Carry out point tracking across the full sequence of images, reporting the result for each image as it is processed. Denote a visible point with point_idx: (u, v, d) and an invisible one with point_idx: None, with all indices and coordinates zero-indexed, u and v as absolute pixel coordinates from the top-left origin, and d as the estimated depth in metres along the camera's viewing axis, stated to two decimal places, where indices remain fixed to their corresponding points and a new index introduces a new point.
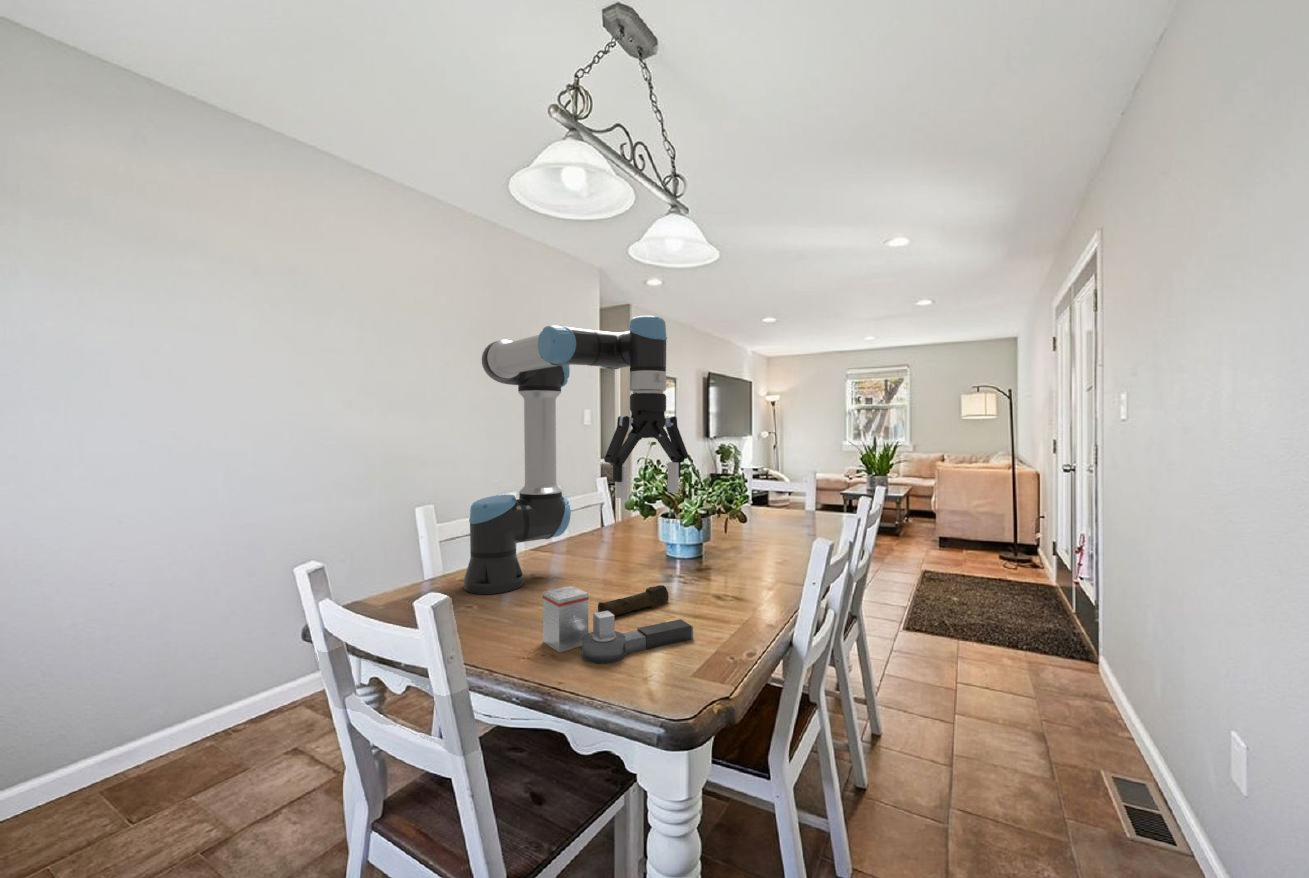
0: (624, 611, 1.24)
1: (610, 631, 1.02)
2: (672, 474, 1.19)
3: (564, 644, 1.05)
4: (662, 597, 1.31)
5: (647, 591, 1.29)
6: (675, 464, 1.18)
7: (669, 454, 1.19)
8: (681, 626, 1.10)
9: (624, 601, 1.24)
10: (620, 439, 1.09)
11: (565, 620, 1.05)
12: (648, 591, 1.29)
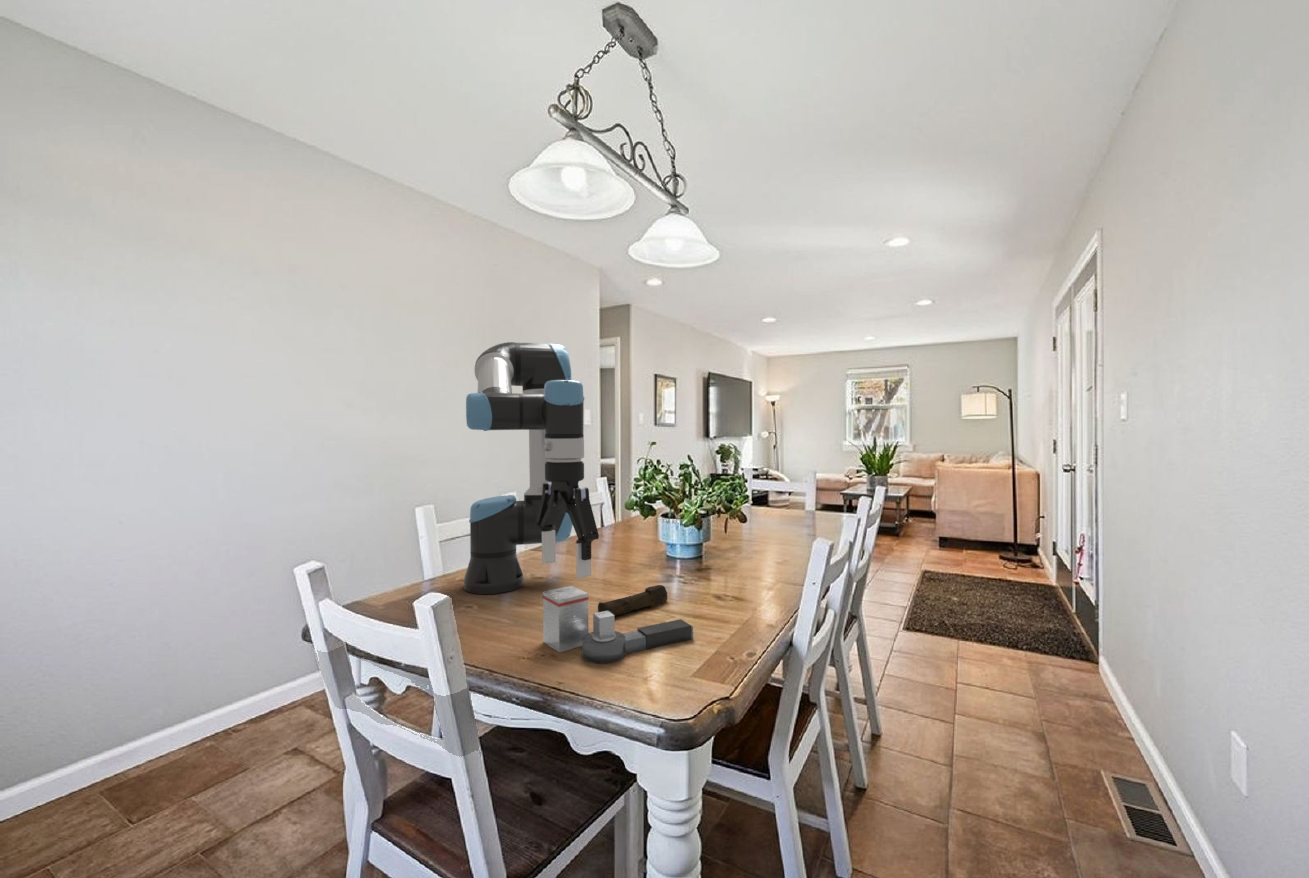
0: (624, 611, 1.24)
1: (610, 631, 1.02)
2: None
3: (564, 644, 1.05)
4: (661, 597, 1.31)
5: (646, 591, 1.30)
6: None
7: None
8: (681, 626, 1.10)
9: (624, 601, 1.24)
10: (540, 505, 1.13)
11: (565, 620, 1.05)
12: (647, 591, 1.29)
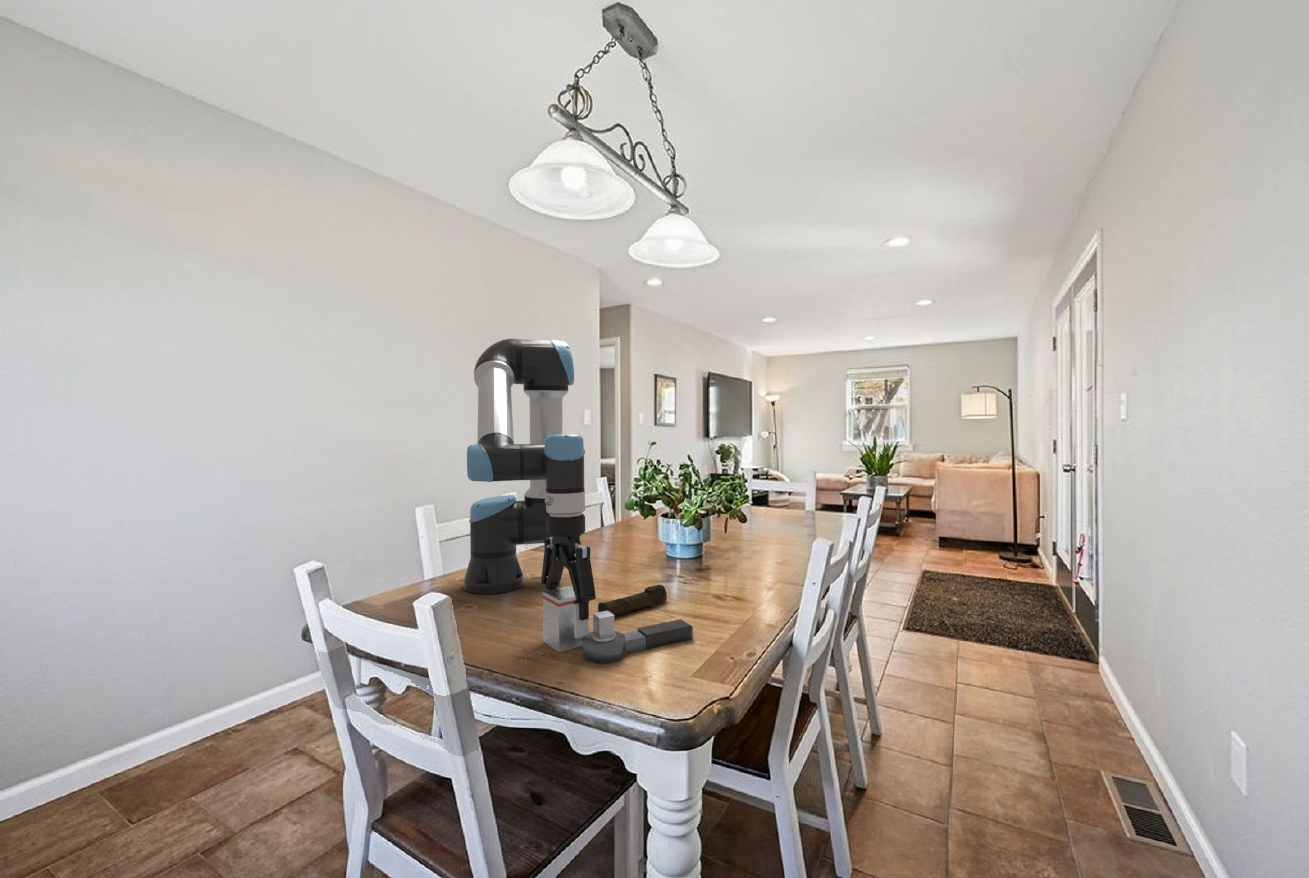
0: (624, 611, 1.24)
1: (610, 631, 1.02)
2: None
3: (564, 644, 1.05)
4: (661, 597, 1.31)
5: (646, 591, 1.30)
6: None
7: None
8: (681, 626, 1.10)
9: (624, 601, 1.24)
10: (543, 561, 1.12)
11: (565, 620, 1.05)
12: (647, 591, 1.29)
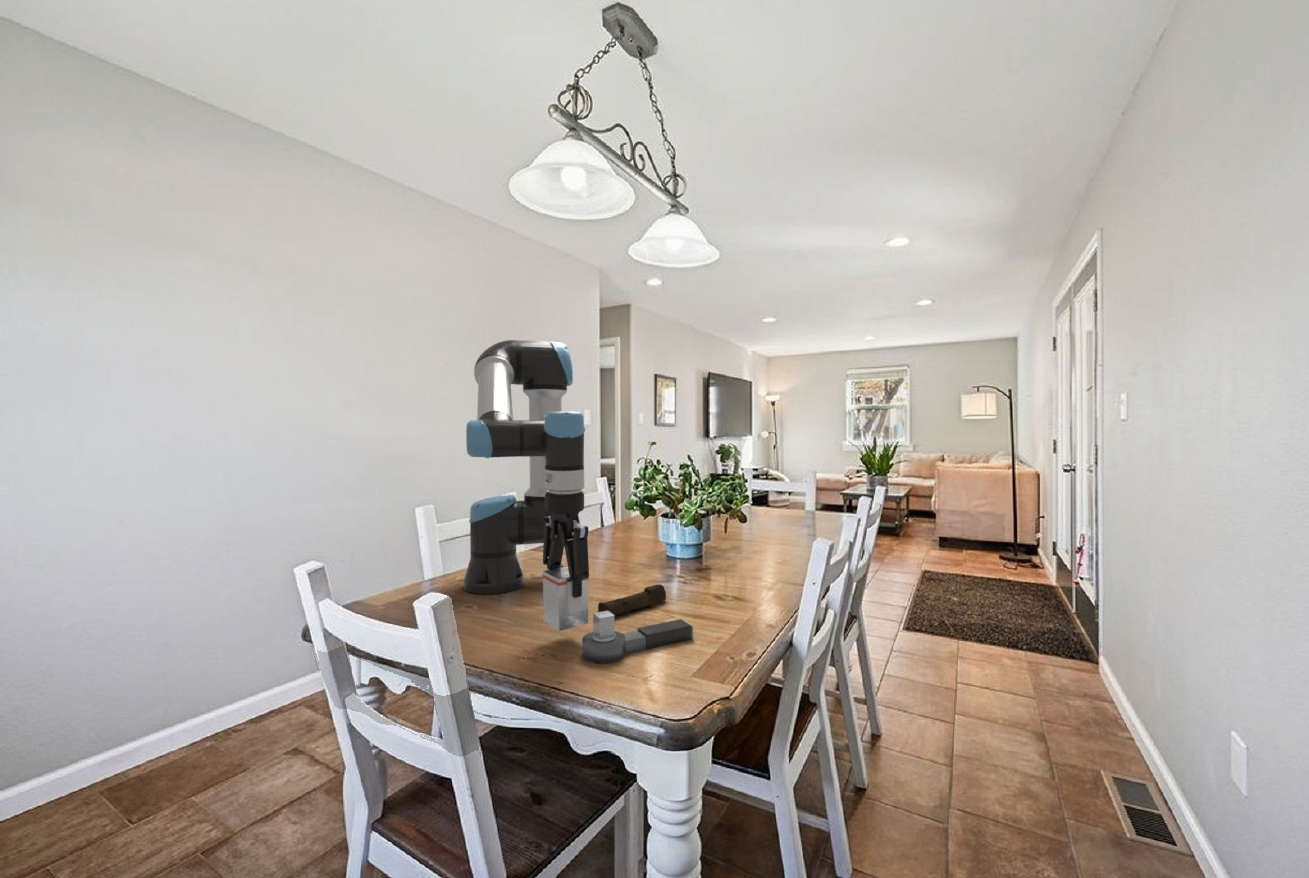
0: (624, 611, 1.24)
1: (610, 631, 1.02)
2: None
3: (564, 623, 1.05)
4: (660, 596, 1.31)
5: (646, 590, 1.30)
6: None
7: None
8: (681, 626, 1.10)
9: (624, 601, 1.24)
10: (544, 540, 1.12)
11: (565, 599, 1.05)
12: (647, 590, 1.30)
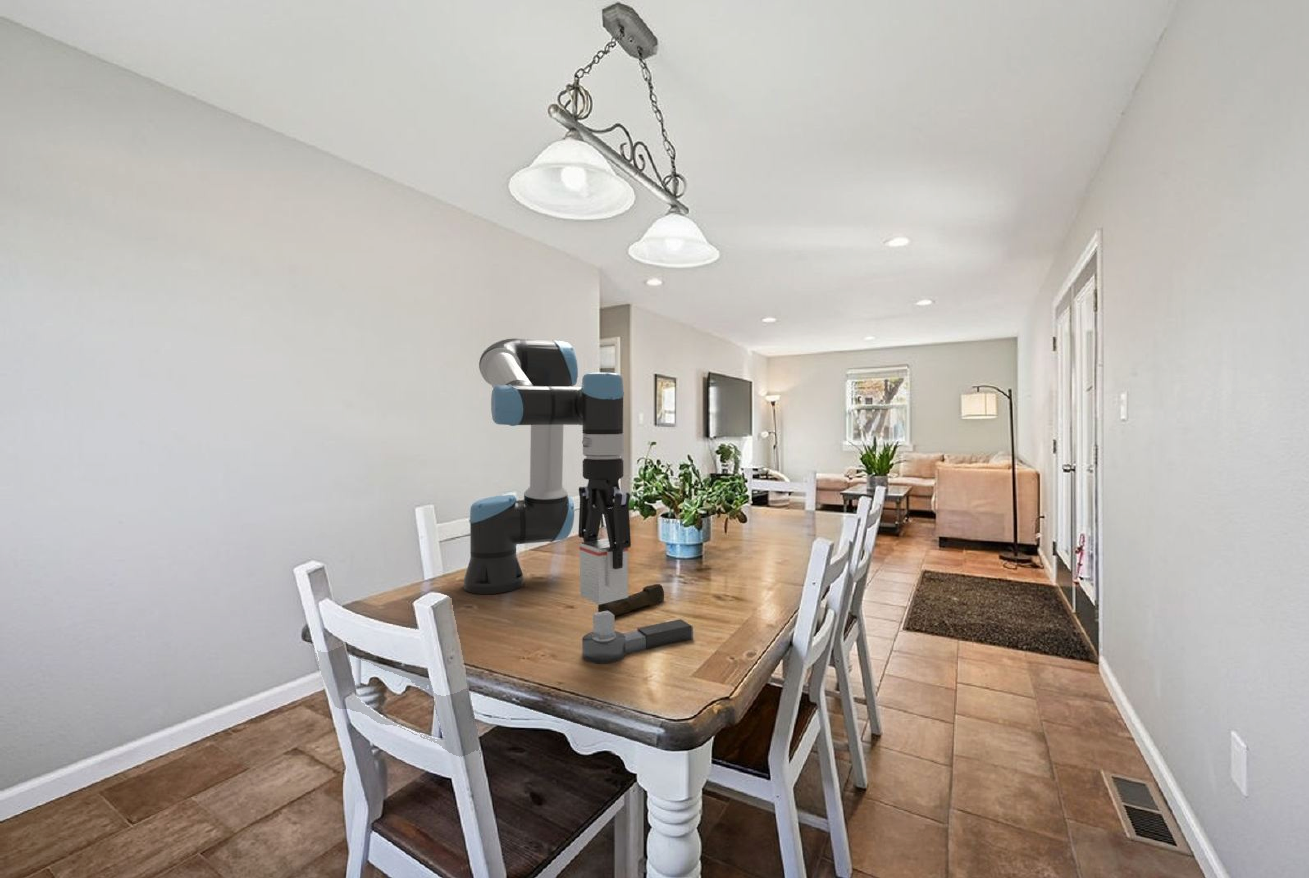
0: (624, 611, 1.24)
1: (610, 631, 1.02)
2: None
3: (604, 596, 0.99)
4: (659, 596, 1.32)
5: (645, 590, 1.30)
6: None
7: None
8: (681, 626, 1.10)
9: (624, 601, 1.24)
10: (580, 512, 1.07)
11: (605, 571, 0.99)
12: (646, 590, 1.30)
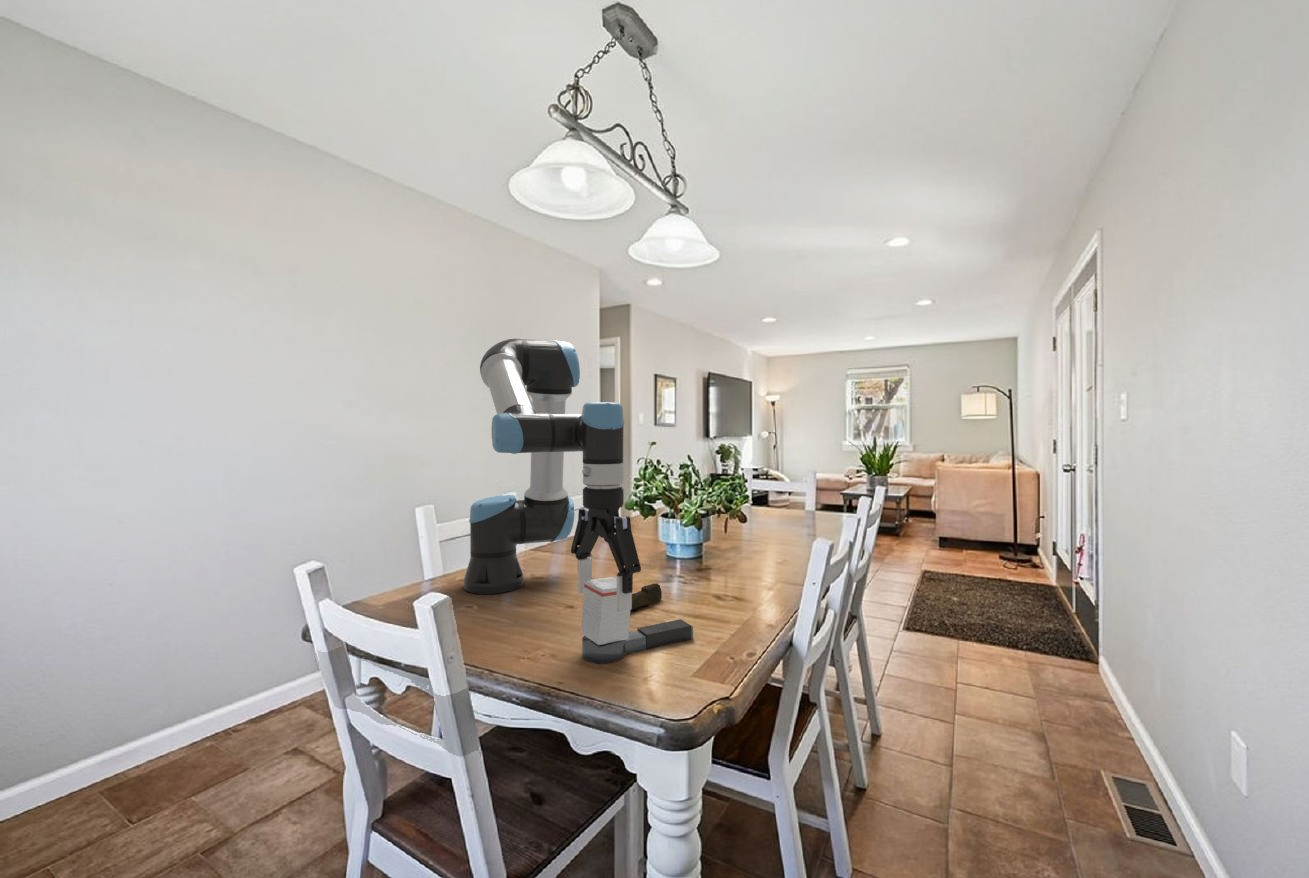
0: None
1: None
2: None
3: (604, 637, 1.00)
4: (657, 595, 1.32)
5: (643, 590, 1.30)
6: None
7: None
8: (681, 626, 1.10)
9: None
10: (576, 531, 1.08)
11: (607, 611, 1.00)
12: (644, 590, 1.30)
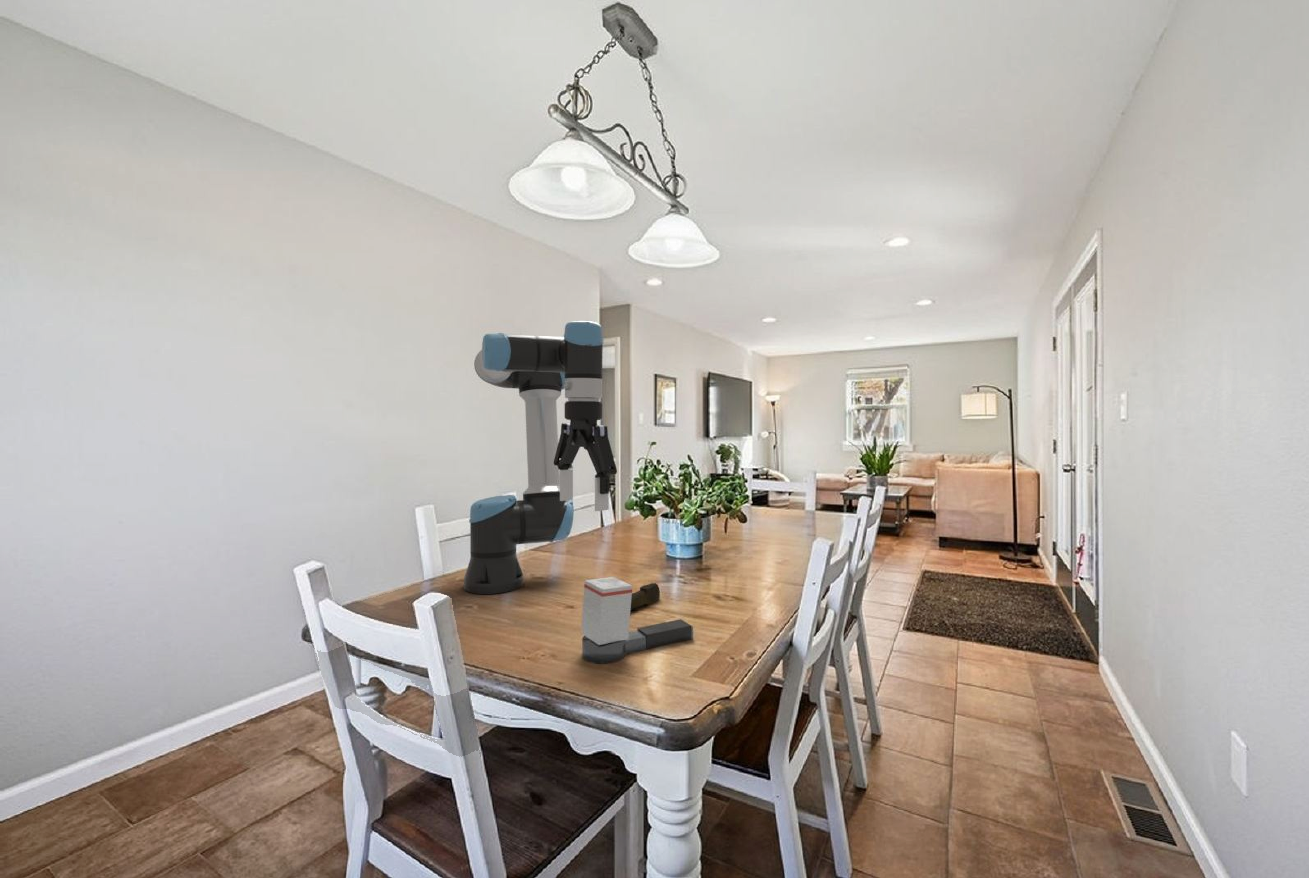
0: None
1: None
2: None
3: (604, 637, 1.00)
4: (655, 595, 1.33)
5: (642, 589, 1.31)
6: None
7: None
8: (681, 626, 1.10)
9: None
10: (558, 444, 1.17)
11: (607, 611, 1.00)
12: (643, 589, 1.30)
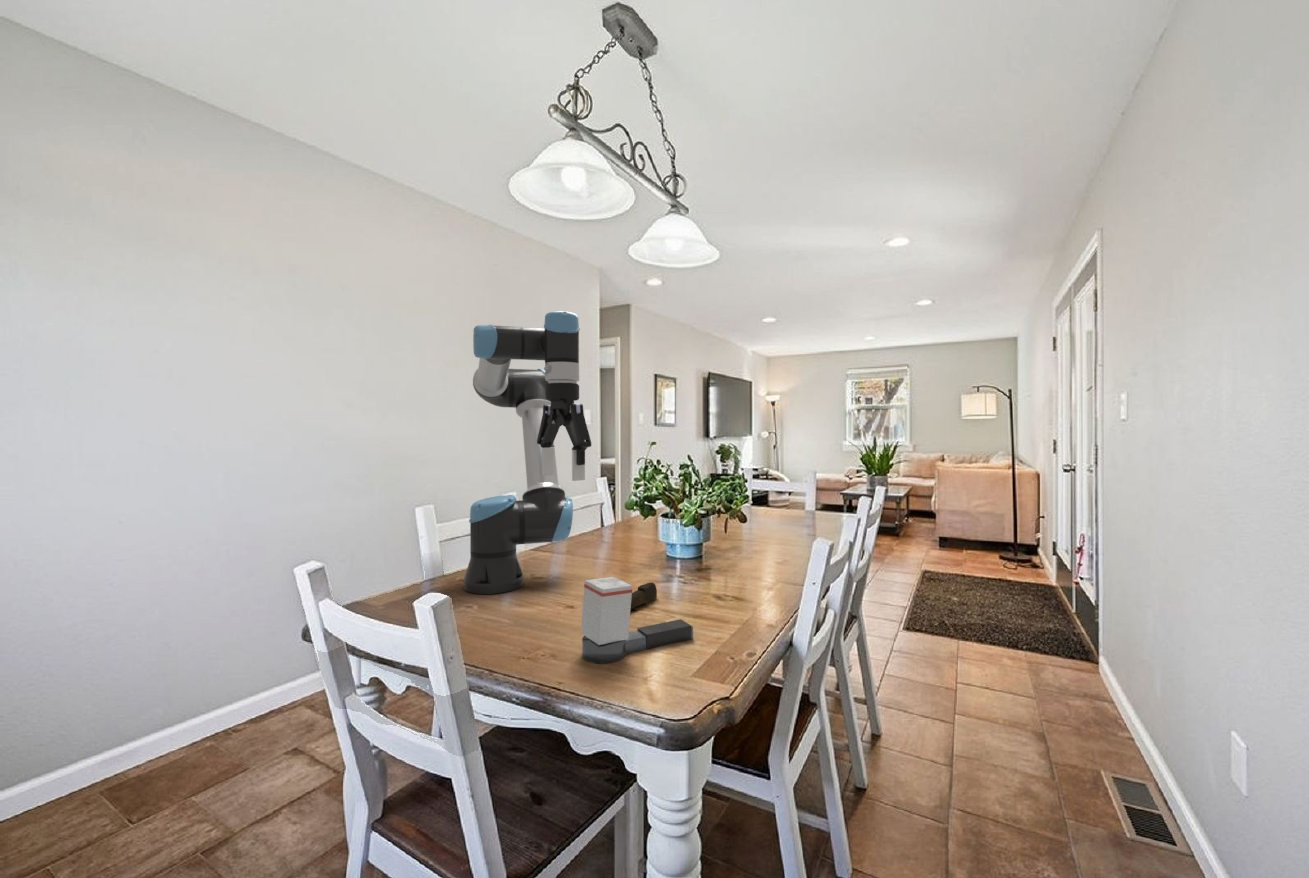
0: None
1: None
2: None
3: (604, 637, 1.00)
4: (653, 594, 1.33)
5: (640, 589, 1.31)
6: None
7: None
8: (681, 626, 1.10)
9: None
10: (541, 424, 1.29)
11: (607, 611, 1.00)
12: (641, 589, 1.31)
